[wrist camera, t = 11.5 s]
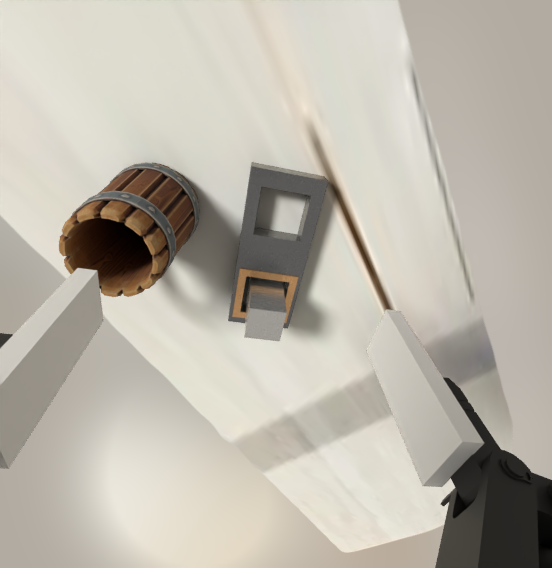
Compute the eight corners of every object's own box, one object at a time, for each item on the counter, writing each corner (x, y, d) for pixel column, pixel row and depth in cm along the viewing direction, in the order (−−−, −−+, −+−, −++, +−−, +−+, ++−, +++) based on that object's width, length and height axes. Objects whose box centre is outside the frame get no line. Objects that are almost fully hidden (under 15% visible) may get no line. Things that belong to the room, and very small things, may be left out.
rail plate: (251, 162, 37) (251, 166, 35) (324, 176, 38) (328, 181, 36) (229, 310, 48) (228, 321, 46) (286, 318, 49) (287, 329, 47)
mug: (145, 140, 35) (82, 164, 22) (218, 204, 39) (199, 256, 27) (76, 233, 40) (-8, 296, 28) (147, 281, 45) (102, 356, 32)
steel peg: (251, 271, 45) (249, 308, 37) (281, 276, 45) (286, 312, 38) (246, 297, 47) (244, 337, 39) (275, 301, 48) (279, 341, 40)
